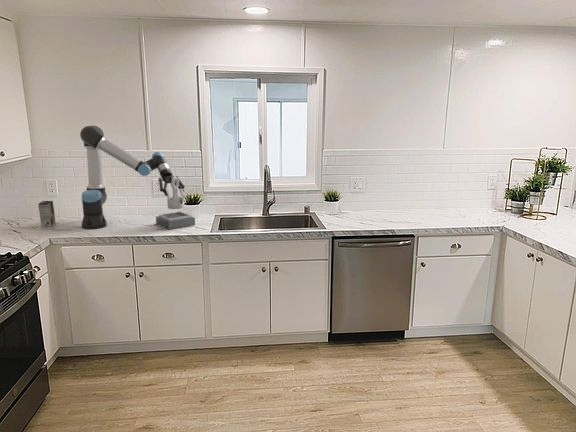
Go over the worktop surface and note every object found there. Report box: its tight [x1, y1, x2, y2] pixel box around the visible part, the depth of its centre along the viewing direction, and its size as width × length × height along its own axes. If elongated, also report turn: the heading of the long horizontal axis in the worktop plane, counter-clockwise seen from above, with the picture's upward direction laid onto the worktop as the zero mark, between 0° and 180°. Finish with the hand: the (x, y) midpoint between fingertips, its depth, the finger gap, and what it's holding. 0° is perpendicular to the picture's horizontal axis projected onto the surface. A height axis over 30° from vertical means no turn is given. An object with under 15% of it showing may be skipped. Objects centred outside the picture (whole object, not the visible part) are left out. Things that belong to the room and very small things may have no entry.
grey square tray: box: [155, 211, 196, 230], centre depth 290 cm, size 19×19×6 cm
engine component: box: [167, 176, 184, 210], centre depth 286 cm, size 11×20×10 cm
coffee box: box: [37, 200, 56, 229], centre depth 280 cm, size 9×6×16 cm
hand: (176, 198), depth 284 cm, fingers closed on engine component, 10 cm apart
